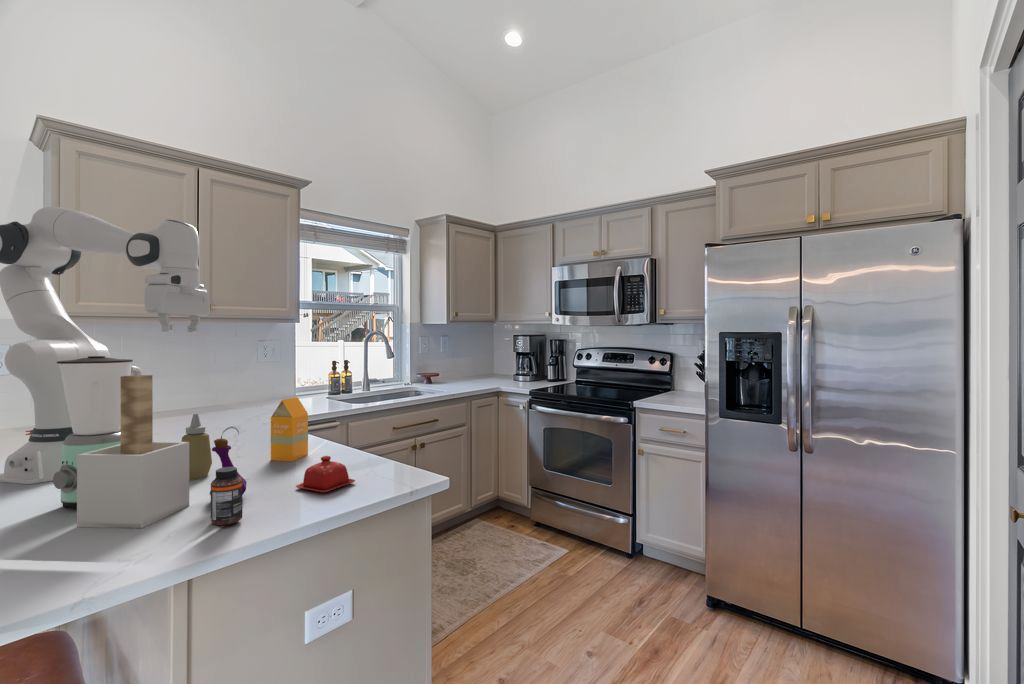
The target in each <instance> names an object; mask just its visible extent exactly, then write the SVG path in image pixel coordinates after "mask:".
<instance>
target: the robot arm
mask: <svg viewBox="0 0 1024 684" xmlns="http://www.w3.org/2000/svg"><path fill="white" fill-rule="evenodd" d="M82 252H83V253H90V254H91V253H93V254H95V253H96V254H107V255H108V254H111V255H125V256H127V259H128V260H129V262H130V263H131V264H132V265H134V266H136V267H138V268H141V269H145V270H146V269H147V270H152V271H158V272H157V273H152V274H148V275H145V276H144V284H146V287H145V288H144V295H143V296H144V297H143V298H144V300H143V302H144V309H145V311H146V312H147V313H148V314H156V315H157V319H158V321H159V323H160V324H161V331H162V332H167V333H170V332H173V324H171V323H170V320H169V319H170V316H171V315H174V316H175V315H176V316H186V317H189V320H190V323H189V325H187V332H188V333H197V332H198V326H199V324H200V322H201V317H202V318H203V317H209V316H210V314H211V304H210V303H211V302H210V295H209V292H208V291H207V288H206V287H205V286H204V284H201V283H200V267H199V259H200V239H199V234H198V230H197V228H196V227H195V226H194V225H192V224H191V223H186V222H184V221H179V220H174V219H164V220H163V221H161V223H160V224H159V225H158V226H156V227H155V228H152V229H150V230H147V231H144V232H138V233H134V232H132V231H129V230H126V229H124V228H122V227H120V226H118V225H116V224H113V223H110V222H109V221H107V220H104V219H102V218H100V217H97V216H95V215H92V214H90V213H86V212H84V211H81V210H76V209H72V208H68V207H59V206H58V207H57V206H47V207H46V206H45V207H42V208H39V209H38V210H36V211H35V212H34V213H33V214H32V217H31V220H30V222H29V223H25V224H22V223H20V221H19V222H18V221H16V220H15V221H11V222H9V223H5V224H0V264H3V265H6V266H4V267H3V268H1V270H0V290H1V293H2V297H3V298H4V302H5V303H6V306H7V308H8V310H9V312H10V314H11V316H12V319H13V321H14V322H15V325H16V327H17V328H18V329H19V330H20V331H21V332H22V333H24V334H26V335H28V336H31V337H32V338H34V339H31V340H27V341H22V342H17V343H15V344H13V345H12V346H10V347H9V348H8V350H6V353H5V355H4V366H5V368H6V369H7V371H8V372H9V373H10V374H11V375H12V376H13V377H15V378H16V379H19V381H21V382H22V383H23V384H24V385H25V387H26V388H27V389H28V391H29V393H30V395H31V397H32V402H33V407H34V410H33V411H34V427H33V429H31V430H25V433H26V434H25V436H29V438H28V440H27V441H28V442H26V443H25V444H24V445H21V447H20V448H18V449H17V450H15V451H13V453H10V455H8V456H7V458H6V459H5V461H4V469H3V472H2V473H0V483H1V482H4V483H11V484H13V483H14V484H21V485H33V484H40V483H45V482H53V476H54V474H55V473H56V472H58V471H60V468H61V449H62V444H63V442H64V440H65V439H66V437H68V436H69V435H70V434H73V430H72V426H71V421H70V417H69V412H68V407H67V402H66V397H65V392H64V387H63V382H62V376H61V371H60V368H59V365H58V364H57V362H58V361H66V360H75V359H81V358H88V356H106V357H105V358H111V354H110V351H109V349H108V347H107V346H106V345H105V344H103V343H101V342H99V341H97V340H95V339H93V338H92V337H91V336H89V335H88V334H86V333H85V332H84V331H83V330H82V329H81V328H80V327H79V326H78V325H77V324H76V323H75V322H74V321H73V320H72V318H71V317H70V316H69V314H68V313H67V311H66V309H65V307H64V305H63V304H62V302H61V299H60V298H59V295H58V293H57V292H56V290H55V288H54V285H53V284H52V281H51V274H52V275H55V276H57V275H58V276H60V275H63V274H64V273H65V272H66V271H67V270H69V269H71V268H73V267H74V266H76V265H77V264H78V262H79V261H80V260H81V256H82Z"/></svg>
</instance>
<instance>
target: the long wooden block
mask: <svg viewBox="0 0 1024 684" xmlns="http://www.w3.org/2000/svg"><path fill="white" fill-rule="evenodd" d="M153 410H154V409H153V374H146V375H145V374H143V375H132V374H131V376H121V454H128V455H141V454H145V453H148V452H152V451H153V441H154V440H153V439H154V438H153V425H154V424H153V423H154V422H153V412H154V411H153Z"/></svg>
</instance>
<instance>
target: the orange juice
mask: <svg viewBox="0 0 1024 684" xmlns="http://www.w3.org/2000/svg"><path fill="white" fill-rule="evenodd" d="M307 455H309V413H308V412H307V410H306V408H305V407H304V405H303V403H302V402H301V400H300V399H299V397H298V396H296V397H290V398H287V399H281V401H280V402H279V404H278V406H277V408H276V409H275V410H274V411H273V414H272V415H271V416H270V461H280V462H281V461H283V462H294V461H295V460H296V461H297V460H298V459H300V458H302V457H305V456H307Z"/></svg>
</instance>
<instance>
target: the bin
mask: <svg viewBox="0 0 1024 684" xmlns="http://www.w3.org/2000/svg"><path fill="white" fill-rule="evenodd" d="M189 506H190V480H189V442H181V441H154V440H153V451H152V452H148V453H145V454H141V455H128V454H121V444H119V445H115V446H111V447H107V448H103V449H99V450H95V451H91V452H87V453H83V454H79V455H77V507H76V527H78V528H103V529H104V528H105V529H106V528H109V529H110V528H111V529H113V528H114V529H143V528H145V527H147V526H149V525H152V524H153V523H156V522H158V521H160V520H162V519H164V518H166V517H168V516H171V515H172V514H173V515H174V513H177V512H179V511H181V510H183V509H186V508H188V507H189Z"/></svg>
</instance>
